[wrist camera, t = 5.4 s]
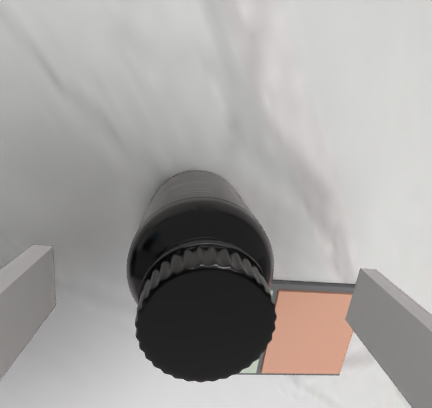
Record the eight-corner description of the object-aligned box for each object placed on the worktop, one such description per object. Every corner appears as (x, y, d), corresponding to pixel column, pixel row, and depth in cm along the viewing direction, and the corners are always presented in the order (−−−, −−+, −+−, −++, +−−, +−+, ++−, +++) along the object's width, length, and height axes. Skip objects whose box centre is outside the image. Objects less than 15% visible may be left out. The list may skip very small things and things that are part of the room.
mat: (168, 368, 25) (167, 376, 24) (177, 274, 22) (176, 280, 21) (336, 370, 27) (340, 378, 26) (363, 284, 24) (368, 290, 23)
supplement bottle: (255, 232, 21) (331, 361, 10) (176, 268, 22) (163, 434, 10) (219, 151, 19) (264, 198, 8) (132, 192, 20) (54, 294, 8)
